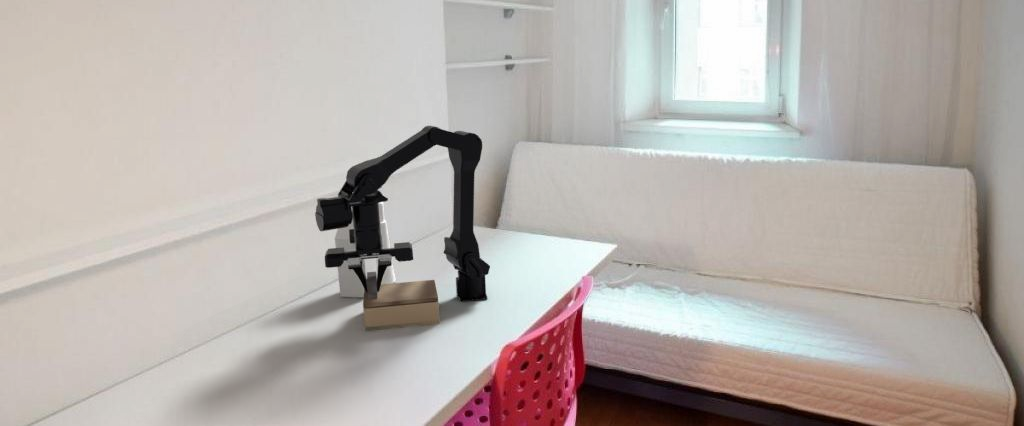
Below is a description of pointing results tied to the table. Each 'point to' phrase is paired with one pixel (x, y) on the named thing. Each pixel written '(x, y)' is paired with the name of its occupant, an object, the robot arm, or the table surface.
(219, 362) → the table surface
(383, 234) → the cosmetic bottle
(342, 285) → the milk carton
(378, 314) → the box
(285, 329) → the table surface
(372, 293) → the lid
